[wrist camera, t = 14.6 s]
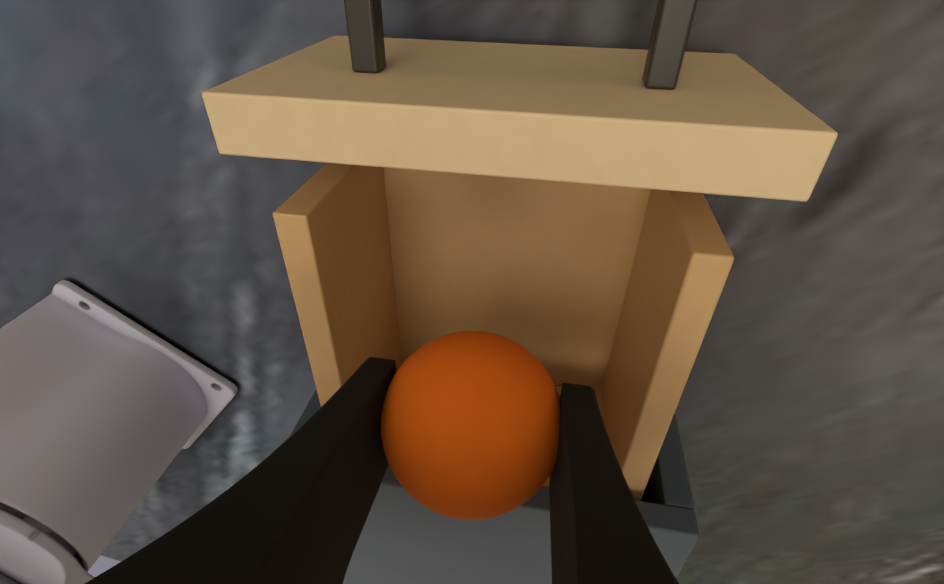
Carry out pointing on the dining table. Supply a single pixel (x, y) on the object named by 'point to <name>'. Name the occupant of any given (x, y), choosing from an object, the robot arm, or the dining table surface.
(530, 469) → the ball
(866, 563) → the dining table surface
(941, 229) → the dining table surface
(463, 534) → the cabinet
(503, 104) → the drawer
